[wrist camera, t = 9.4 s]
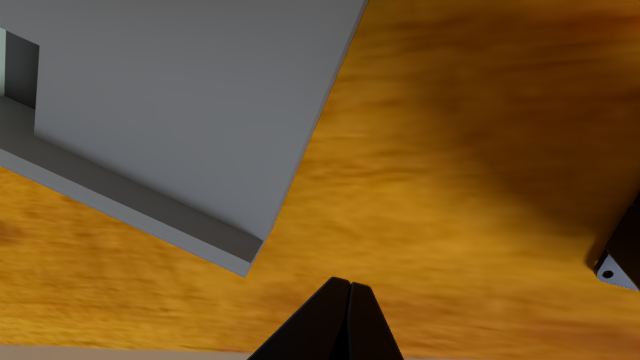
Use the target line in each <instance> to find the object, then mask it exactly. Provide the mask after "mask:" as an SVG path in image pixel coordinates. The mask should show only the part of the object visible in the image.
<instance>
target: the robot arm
mask: <svg viewBox="0 0 640 360" xmlns="http://www.w3.org/2000/svg"><path fill="white" fill-rule="evenodd" d="M607 270H610V271H609V272H608V273H606V274H603V272H604V271H607ZM594 274H595V275H596V277H597V278H598V279H599V280H600V281H602V282H605V283H609V284H613V285H617V286H621V287H625V288H629V289H633V290H637V291H640V193H639V194H638V196H637V198H636V199H635V201H634V203H633V204H632V206H630V207H629V208H628V210H627V212H626V213H625V215H624V216H623V218H622V220H621V221H620V223H619V225H618V226H617V228H616V230H615V231H614V233H613V235H612V236H611V238H610V240H609V241H608V243H607V245H606V249H605V251H604V252H603V254H602V256H601V257H600V259H599V261H598V262H597V264H596V266H595V267H594ZM247 360H404V359H403V356H402V354H401V352H400V350H399V348H398V346H397V343H396V341H395V339H394V337H393V335H392V332H391V330H390V328H389V326H388V324H387V322H386V319H385V317H384V315H383V313H382V311H381V309H380V306H379V304H378V302H377V300H376V298H375V295H374V293H373V291H372V289H371V287H370V286H368V285H364V284H360V283H357V282H352V283H351V284H350V282H349V281H348V280H345V279H342V278H338V277H331V278H330V279H329V280H328V281H327V282H326V283H324V284H323V285H322V286H321V287H320V288H319V289H318V290H317V291H316V292H315V293H314V294H313V295H312V296H311V297H310V298H309V299H308V300H307V301H306V302H305V303H304V304H303V305H302V306H301V307H300V308H299V309H298V310H297V311H296V312H295V313H294V314H293V315H292V316H291V317H290V318H289V319H288V320H287V321H286V322H285V323H284V324H283V325H282V326H281V327H280V328H279V329H278V330H277V331H276V332H275V333H273V334H272V335H271V336H270V337H269V338H268V339H267V340H266V341H265V342H264V343H263V344H262V345H261V346H260V347H259V348H258V349H257V350H256V351H255V352H254V353H253V354H252V355H251V356H250V357H249V358H248V359H247Z"/></svg>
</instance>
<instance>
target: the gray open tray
mask: <svg viewBox="0 0 640 360" xmlns="http://www.w3.org/2000/svg"><path fill="white" fill-rule="evenodd" d="M368 1H369V0H0V166H2V167H4V168H6V169H9V170H11V171H13V172H15V173H17V174H20V175H22V176H24V177H26V178H28V179H31V180H33V181H35V182H37V183H39V184H41V185H44V186H46V187H48V188H50V189H52V190H55V191H57V192H59V193H61V194H63V195H65V196H68V197H70V198H72V199H74V200H76V201H79V202H81V203H83V204H85V205H87V206H89V207H92V208H94V209H96V210H98V211H100V212H103V213H105V214H107V215H109V216H111V217H114V218H116V219H118V220H120V221H122V222H124V223H127V224H129V225H131V226H133V227H135V228H138V229H140V230H142V231H144V232H146V233H148V234H151V235H153V236H155V237H157V238H159V239H162V240H164V241H166V242H168V243H170V244H173V245H175V246H177V247H179V248H181V249H183V250H186V251H188V252H190V253H192V254H194V255H197V256H199V257H201V258H203V259H205V260H207V261H210V262H212V263H214V264H216V265H218V266H221V267H223V268H225V269H227V270H229V271H232V272H234V273H236V274H238V275H240V276H242V277H246V275H247V273H248V271H249V270H250V268H251V266H252V264H253V263H254V261H255V259H256V257H257V255H258V254H259V252H260V250H261V248H262V247H263V245H264V243H265V241H266V240H267V238H268V236H269V234H270V232H271V231H272V228H273V226H274V223H275V221H276V219H277V216H278V214H279V212H280V209H281V207H282V205H283V202H284V200H285V197H286V195H287V193H288V190H289V188H290V186H291V183H292V181H293V178H294V176H295V174H296V171H297V169H298V167H299V164H300V162H301V160H302V157H303V155H304V152H305V150H306V148H307V145H308V143H309V141H310V138H311V136H312V133H313V131H314V129H315V126H316V124H317V122H318V119H319V117H320V115H321V112H322V110H323V107H324V105H325V103H326V100H327V98H328V96H329V93H330V91H331V88H332V86H333V84H334V81H335V79H336V77H337V74H338V72H339V70H340V67H341V65H342V62H343V60H344V58H345V55H346V53H347V51H348V48H349V46H350V44H351V41H352V39H353V36H354V34H355V32H356V29H357V27H358V25H359V22H360V20H361V17H362V15H363V13H364V10H365V8H366V6H367V3H368Z"/></svg>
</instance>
